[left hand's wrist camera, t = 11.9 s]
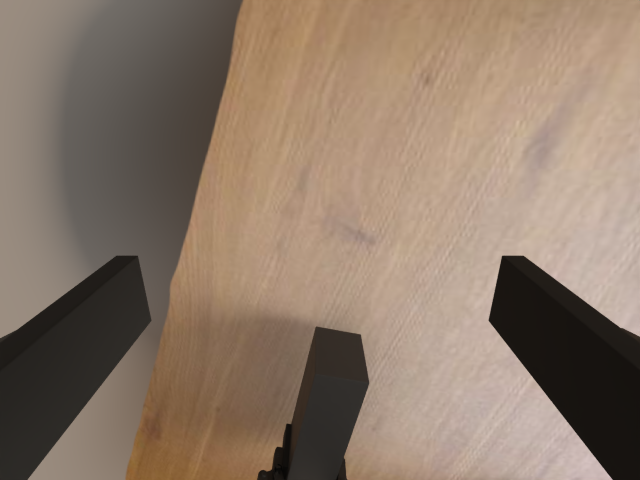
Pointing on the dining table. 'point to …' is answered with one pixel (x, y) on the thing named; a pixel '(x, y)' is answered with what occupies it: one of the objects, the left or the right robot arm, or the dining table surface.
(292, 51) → the dining table surface
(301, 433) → the box
